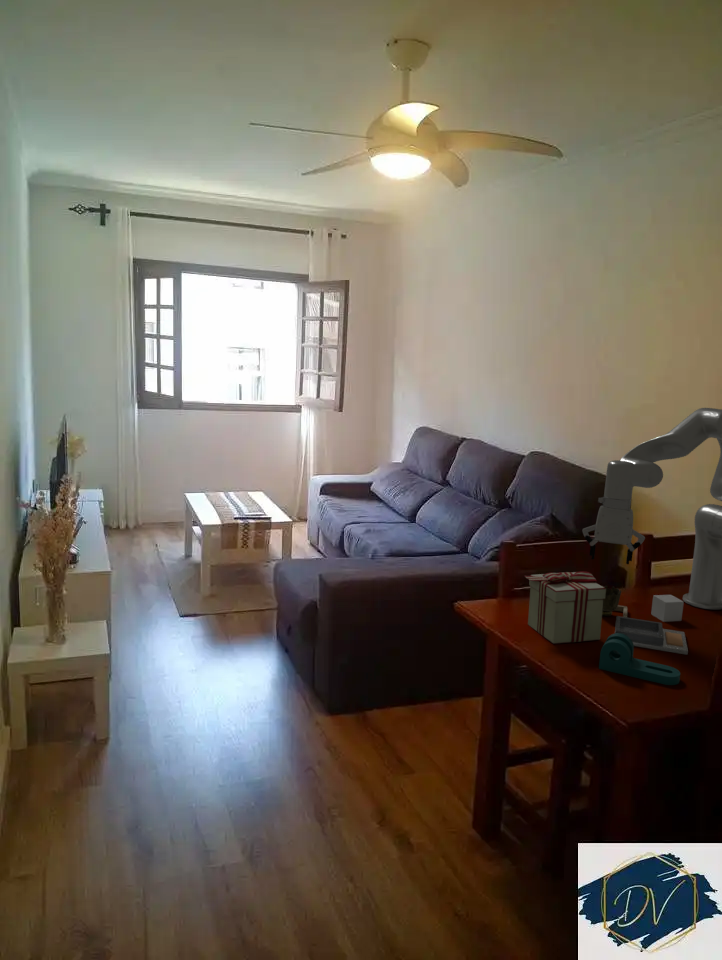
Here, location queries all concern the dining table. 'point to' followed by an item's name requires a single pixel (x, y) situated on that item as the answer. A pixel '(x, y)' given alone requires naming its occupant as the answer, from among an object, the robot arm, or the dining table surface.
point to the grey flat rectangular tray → (651, 635)
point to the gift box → (566, 606)
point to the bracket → (633, 662)
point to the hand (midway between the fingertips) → (610, 560)
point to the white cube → (667, 608)
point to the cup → (610, 600)
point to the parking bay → (622, 610)
